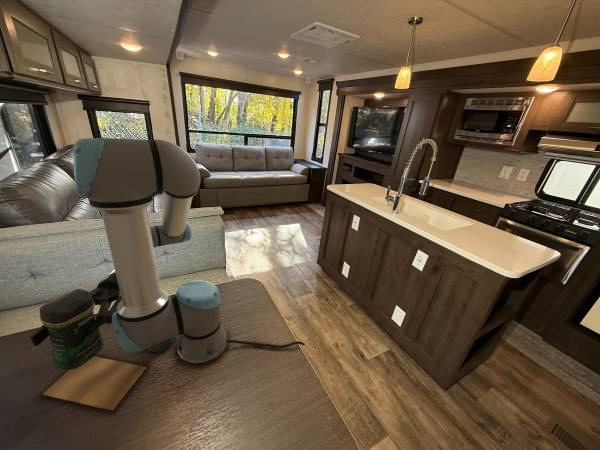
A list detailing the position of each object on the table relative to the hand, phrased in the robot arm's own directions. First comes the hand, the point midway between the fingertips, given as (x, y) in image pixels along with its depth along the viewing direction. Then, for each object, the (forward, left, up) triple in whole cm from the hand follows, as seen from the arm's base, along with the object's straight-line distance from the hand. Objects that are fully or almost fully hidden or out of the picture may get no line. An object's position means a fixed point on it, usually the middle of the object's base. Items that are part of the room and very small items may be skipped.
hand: (53, 342), depth 57 cm
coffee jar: (+1, -5, -10) cm, 12 cm away
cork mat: (-2, -4, -19) cm, 20 cm away
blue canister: (-10, -19, -19) cm, 29 cm away
